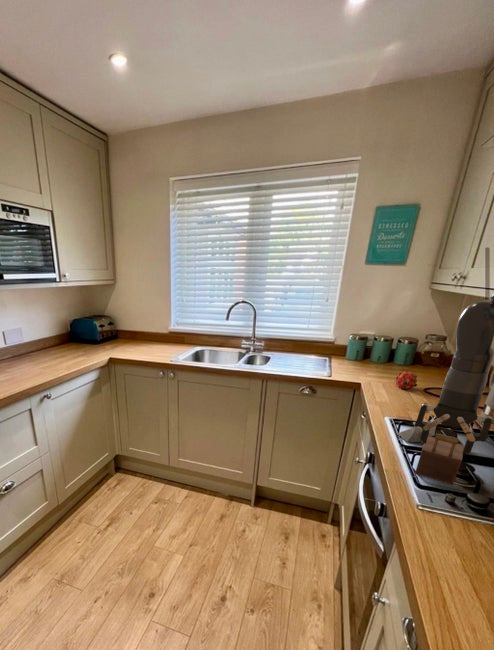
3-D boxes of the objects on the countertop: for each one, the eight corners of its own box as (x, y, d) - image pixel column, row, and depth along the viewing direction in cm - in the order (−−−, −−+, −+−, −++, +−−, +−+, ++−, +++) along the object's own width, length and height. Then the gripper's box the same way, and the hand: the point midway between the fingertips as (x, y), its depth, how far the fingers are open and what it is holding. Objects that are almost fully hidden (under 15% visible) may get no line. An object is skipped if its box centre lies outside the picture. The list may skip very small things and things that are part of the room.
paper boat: (395, 439, 105) (389, 421, 112) (403, 453, 107) (396, 434, 114) (440, 427, 98) (430, 409, 106) (447, 442, 101) (437, 423, 108)
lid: (461, 463, 81) (467, 443, 79) (421, 452, 86) (426, 433, 84) (463, 447, 89) (469, 429, 87) (426, 438, 94) (431, 420, 92)
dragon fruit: (405, 387, 161) (404, 397, 153) (391, 375, 163) (389, 385, 154) (421, 376, 156) (421, 386, 147) (406, 364, 157) (405, 373, 148)
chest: (453, 485, 84) (460, 463, 82) (415, 473, 89) (421, 452, 87) (455, 468, 91) (463, 447, 89) (420, 458, 96) (426, 438, 94)
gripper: (502, 389, 77) (480, 451, 83) (428, 378, 86) (412, 434, 91) (504, 398, 72) (479, 463, 77) (424, 384, 80) (408, 444, 86)
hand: (443, 447), depth 84 cm, fingers open, 8 cm apart
